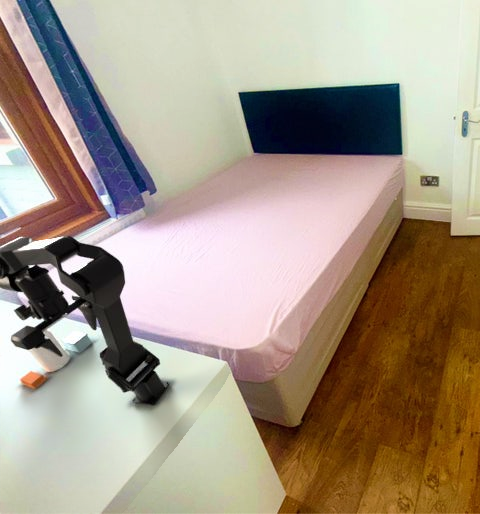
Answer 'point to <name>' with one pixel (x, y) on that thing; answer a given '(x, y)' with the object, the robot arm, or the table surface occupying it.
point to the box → (77, 341)
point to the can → (50, 355)
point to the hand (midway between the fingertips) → (78, 342)
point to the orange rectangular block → (33, 379)
